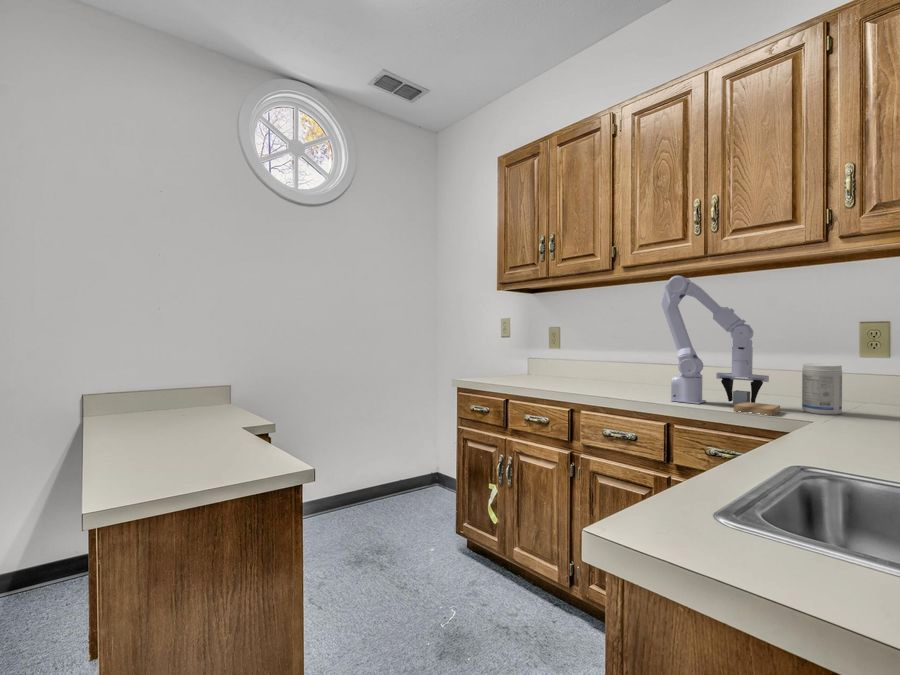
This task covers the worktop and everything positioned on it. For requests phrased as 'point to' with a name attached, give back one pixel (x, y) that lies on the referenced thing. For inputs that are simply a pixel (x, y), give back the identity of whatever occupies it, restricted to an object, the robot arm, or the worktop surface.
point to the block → (740, 397)
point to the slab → (757, 408)
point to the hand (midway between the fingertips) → (741, 402)
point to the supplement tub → (822, 388)
